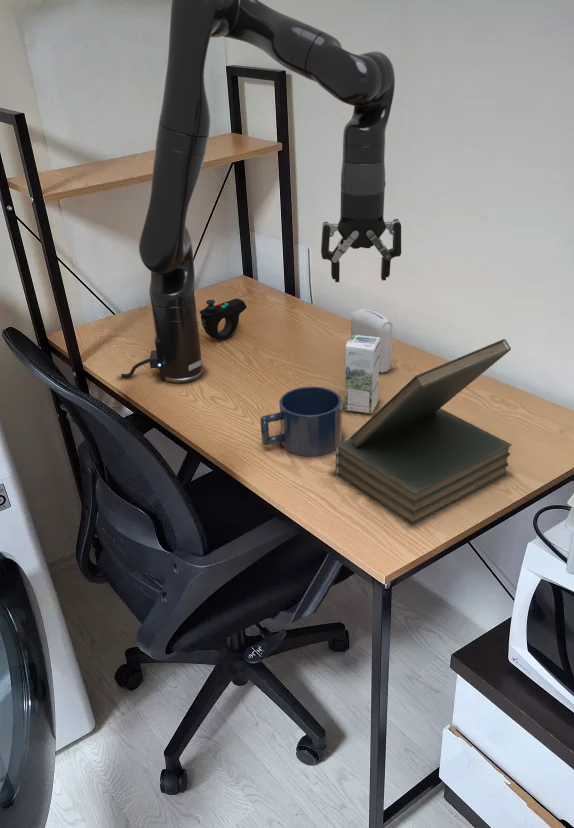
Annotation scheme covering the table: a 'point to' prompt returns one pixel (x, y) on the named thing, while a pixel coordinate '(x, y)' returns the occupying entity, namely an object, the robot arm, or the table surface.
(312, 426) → the mug
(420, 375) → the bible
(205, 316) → the controller
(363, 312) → the photo printer
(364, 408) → the syrup box
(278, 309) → the table surface
